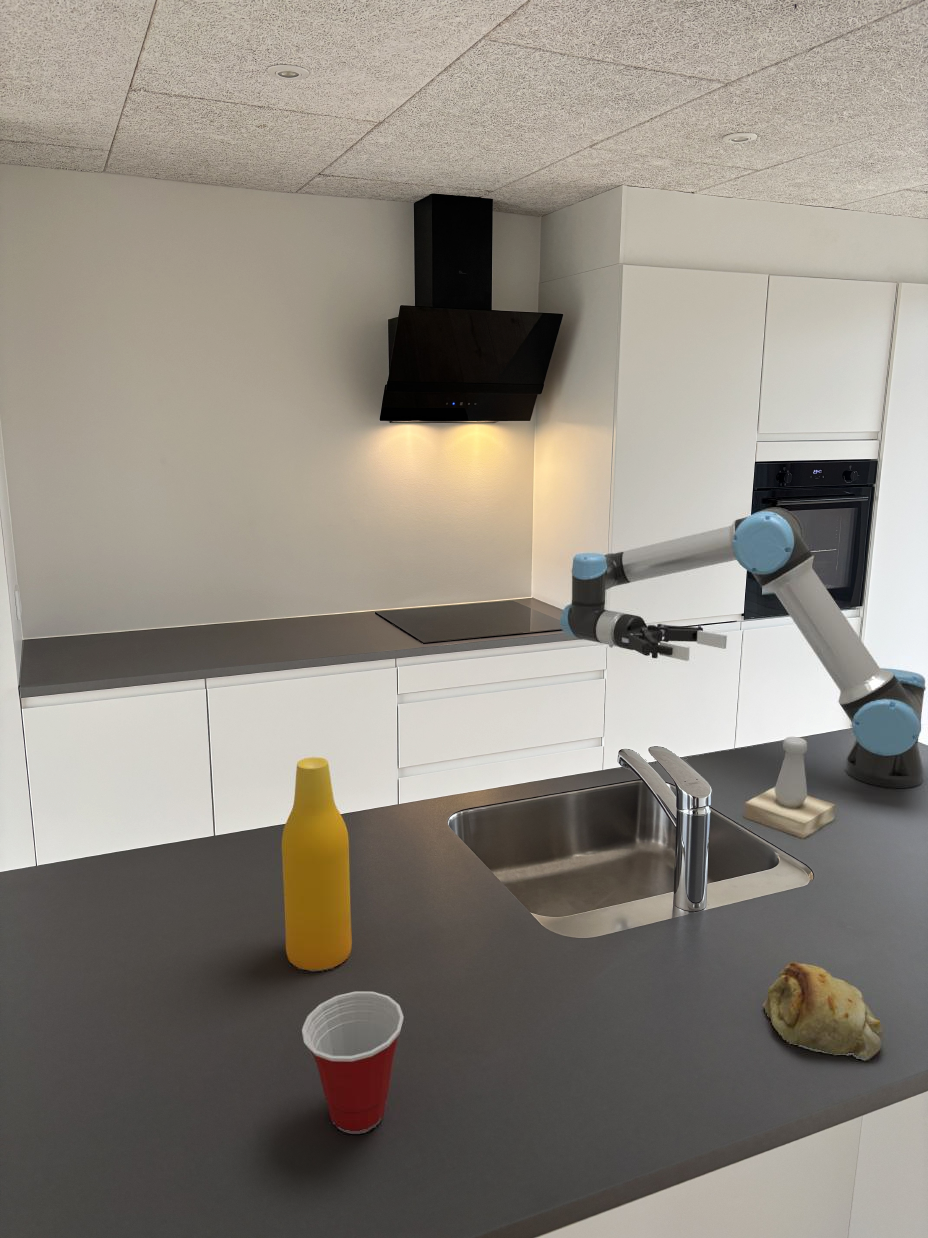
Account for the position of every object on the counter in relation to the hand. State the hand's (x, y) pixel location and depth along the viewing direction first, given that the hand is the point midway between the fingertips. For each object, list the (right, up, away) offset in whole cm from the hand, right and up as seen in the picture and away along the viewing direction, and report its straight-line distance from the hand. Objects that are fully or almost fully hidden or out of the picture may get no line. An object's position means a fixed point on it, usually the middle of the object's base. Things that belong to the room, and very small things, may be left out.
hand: (707, 648), depth 181 cm
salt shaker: (+13, -29, -10) cm, 34 cm away
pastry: (-5, -46, -68) cm, 83 cm away
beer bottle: (-70, -42, -53) cm, 97 cm away
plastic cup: (-61, -49, -83) cm, 114 cm away
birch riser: (+13, -32, -10) cm, 36 cm away
